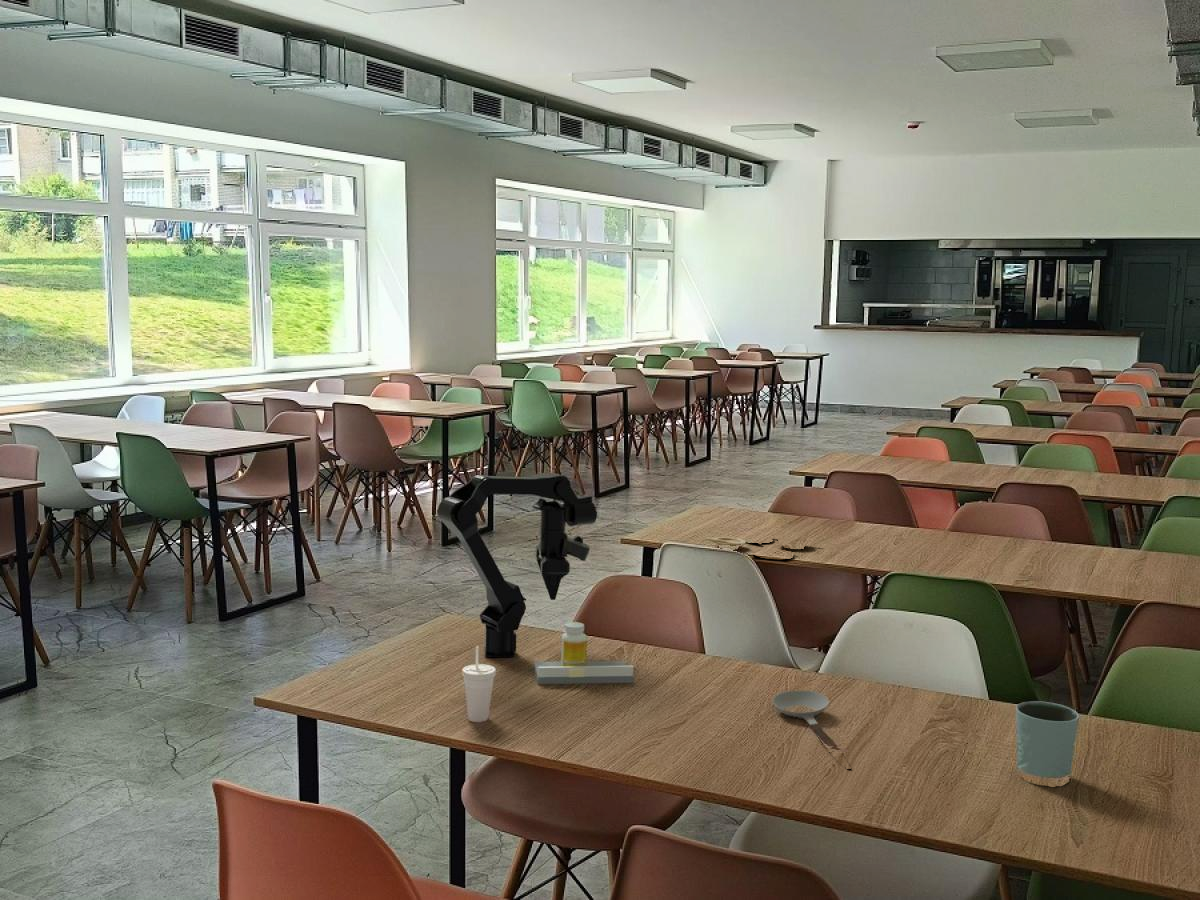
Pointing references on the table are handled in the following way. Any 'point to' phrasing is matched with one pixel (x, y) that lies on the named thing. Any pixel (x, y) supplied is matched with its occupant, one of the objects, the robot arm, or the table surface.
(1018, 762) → the grey-green cup
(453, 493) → the robot arm
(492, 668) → the smoothie
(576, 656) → the supplement bottle
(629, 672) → the grey panel
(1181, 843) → the table surface
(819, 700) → the grey frying pan
